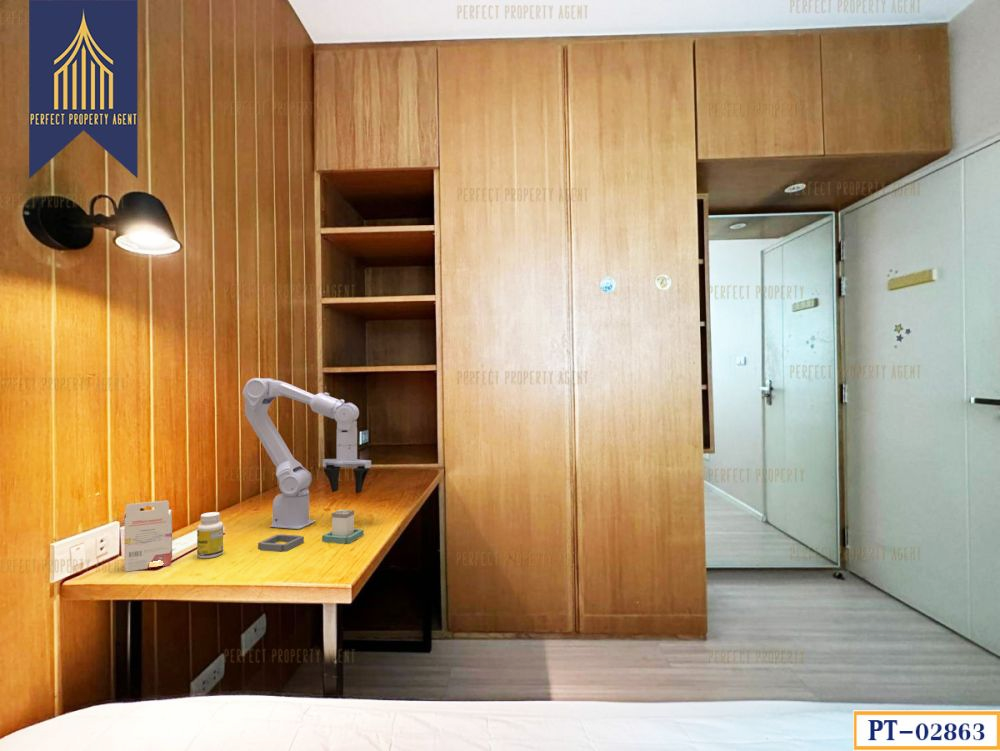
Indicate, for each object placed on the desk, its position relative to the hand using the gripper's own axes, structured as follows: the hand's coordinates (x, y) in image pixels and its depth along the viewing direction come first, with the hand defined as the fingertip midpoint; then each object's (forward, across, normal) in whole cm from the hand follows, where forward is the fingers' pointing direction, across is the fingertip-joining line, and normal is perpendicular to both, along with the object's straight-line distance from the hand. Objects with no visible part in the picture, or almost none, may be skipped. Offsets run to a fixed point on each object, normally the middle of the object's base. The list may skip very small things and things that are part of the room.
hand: (346, 491), depth 147 cm
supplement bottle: (+10, -18, -31) cm, 37 cm away
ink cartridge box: (+10, -26, -40) cm, 49 cm away
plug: (+9, +6, -12) cm, 16 cm away
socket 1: (+9, -6, -21) cm, 24 cm away
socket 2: (+9, +6, -12) cm, 16 cm away
